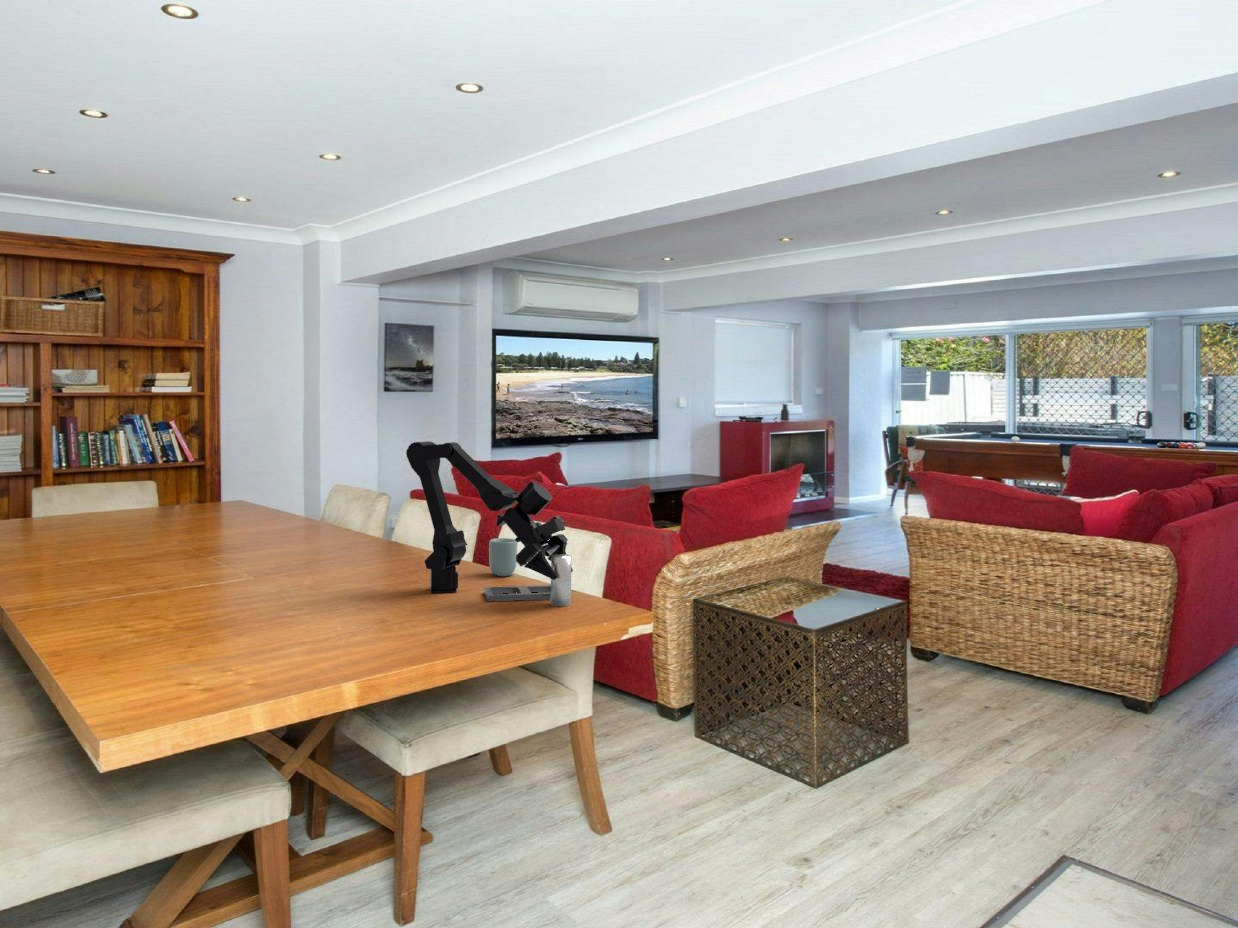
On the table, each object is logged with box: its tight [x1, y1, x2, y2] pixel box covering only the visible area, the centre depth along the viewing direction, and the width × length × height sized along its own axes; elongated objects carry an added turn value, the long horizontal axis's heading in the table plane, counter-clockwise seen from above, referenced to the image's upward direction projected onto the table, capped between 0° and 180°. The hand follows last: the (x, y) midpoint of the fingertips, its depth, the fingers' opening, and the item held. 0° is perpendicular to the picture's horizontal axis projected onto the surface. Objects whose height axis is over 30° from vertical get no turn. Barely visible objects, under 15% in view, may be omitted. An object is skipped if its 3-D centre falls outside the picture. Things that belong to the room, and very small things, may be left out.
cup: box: [488, 537, 518, 577], centre depth 254 cm, size 8×8×10 cm
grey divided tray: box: [483, 584, 551, 603], centre depth 228 cm, size 20×10×2 cm, turn 105°
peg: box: [550, 553, 573, 607], centre depth 219 cm, size 5×5×12 cm
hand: (564, 575), depth 219 cm, fingers open, 9 cm apart
